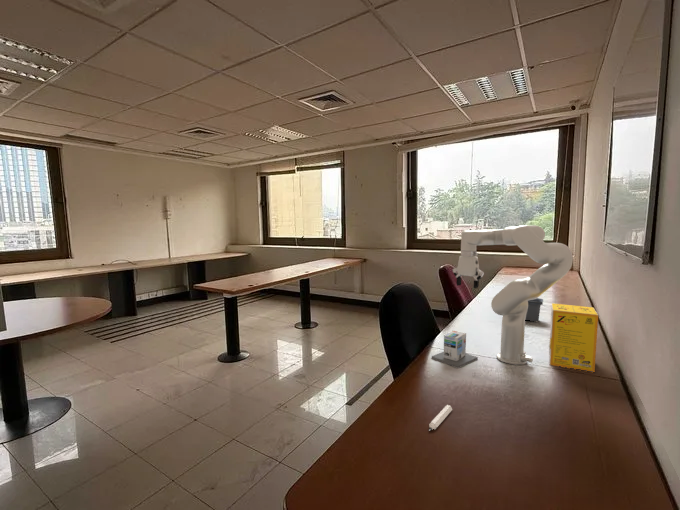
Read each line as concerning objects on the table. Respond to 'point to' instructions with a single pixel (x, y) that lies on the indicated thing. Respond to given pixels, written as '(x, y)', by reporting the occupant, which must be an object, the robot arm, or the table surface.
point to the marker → (440, 417)
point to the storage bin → (534, 309)
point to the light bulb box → (454, 345)
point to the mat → (459, 363)
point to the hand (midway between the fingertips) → (467, 286)
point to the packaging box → (573, 336)
